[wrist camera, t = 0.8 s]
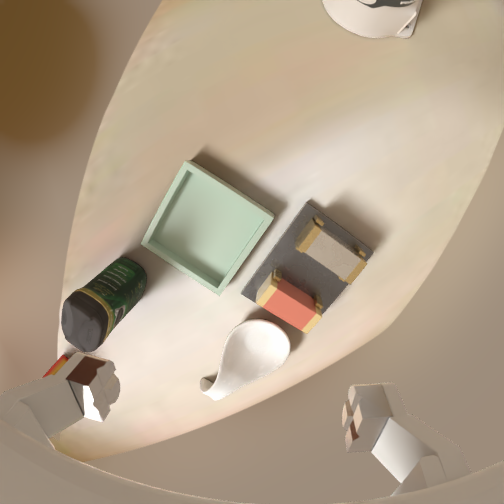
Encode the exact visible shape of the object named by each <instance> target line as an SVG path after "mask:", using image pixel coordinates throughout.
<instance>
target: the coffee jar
mask: <svg viewBox="0 0 504 504" xmlns="http://www.w3.org/2000/svg"><path fill="white" fill-rule="evenodd" d="M146 279H147V278H146V273H145V271H144V270H143V268H142V267H141V266H139V265H138V264H137V263H135V262H134V261H132V260H130V259H127V258H123V257H122V258H118V259H116V260H115V261H114V262H112V263H111V264H110V265H109V266H108V267H107V268H105V269H104V270H103V271H102V272H101V273H100V274H98V275H97V276H96V277H95V278H94V279H92V280H91V281H90V282H89V283H88V284H86V285H85V286H84V287H82V288H80V289H77V290H76V291H74V292H73V293H72V294H71V295H70V296H69V297H68V298H67V299H66V300H65V302H64V304H63V309H62V321H61V325H62V330H63V333H64V335H65V339H66V340H67V341H68V342H70V343H71V344H72V345H74V346H75V347H76V348H78V349H79V350H81V351H83V352H92V351H95V350H96V349H97V348H98V347H99V346H100V345H102V344H103V342H104V341H105V340H106V338H107V337H108V335H109V334H110V333H111V331H112V330H113V329H114V328H115V327H116V325H117V324H118V323H119V322H120V321H121V320H122V319H123V318H124V317H125V316H126V315H127V313H128V312H129V311H130V310H131V309H132V308H133V307H134V306H135V305H136V304H137V303H138V302H139V300H140V298H141V296H142V294H143V291H144V288H145V285H146Z"/></svg>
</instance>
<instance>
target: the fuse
mask: <svg viewBox="0 0 504 504" xmlns="http://www.w3.org/2000/svg"><path fill="white" fill-rule="evenodd" d="M273 276H274V273H273V272H271V273H270V275H269V276H268V277H267V279H266V280H265V281H264V283H263V284H262V285H261V287H260V288H259V290H258V295H257V301H256V304H258V305H259V306H261V307H263V308H264V309H266V310H268V311H269V312H271V313H272V314H274V315H276V316H277V317H279V318H281V319H282V320H284V321H286V322H287V323H289V324H291V325H292V326H294V327H296V328H297V329H299V330H301V331H302V332H304V333H306V334H307V333H308V332H309V331H310V330H311V329H312V328H313V327H314V326H315V325H316V324H317V322H318V321H319V320H320V319H321V318H322V313H321V308H319V307H317V306H316V305H315V299H314V298H312V297H311V296H309V295H307V294H306V293H304V292H303V291H301V290H300V289H298V288H297V287H295V286H293V285H292V284H290V283H289V282H287V281H286V280H284V279H283V278H282V279H281V281H280V282H278V281H277V280H275V279H274V278H273Z"/></svg>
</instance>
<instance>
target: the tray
mask: <svg viewBox="0 0 504 504" xmlns="http://www.w3.org/2000/svg"><path fill="white" fill-rule="evenodd" d="M273 219H274V213H272V212H271V211H269V210H268V209H266V208H265V207H263V206H262V205H260V204H259V203H257V202H256V201H254V200H252V199H251V198H249V197H248V196H246V195H245V194H243V193H242V192H240V191H239V190H237V189H236V188H234V187H233V186H231V185H229V184H228V183H226V182H225V181H223V180H222V179H220V178H218V177H217V176H215V175H214V174H212V173H211V172H209V171H207V170H206V169H204V168H203V167H201V166H199V165H198V164H196V163H195V162H193V161H191V160H188V161H185V162H184V164H183V165H182V167H181V169H180V171H179V172H178V174H177V176H176V178H175V179H174V181H173V183H172V185H171V187H170V188H169V190H168V192H167V194H166V196H165V198H164V199H163V201H162V203H161V205H160V207H159V209H158V211H157V213H156V215H155V216H154V218H153V220H152V222H151V224H150V226H149V228H148V230H147V232H146V234H145V236H144V238H143V240H142V242H141V245H143V246H144V247H146V248H147V249H149V250H150V251H151V252H153V253H154V254H156V255H157V256H159V257H160V258H162V259H163V260H165V261H166V262H168V263H169V264H171V265H172V266H174V267H175V268H177V269H178V270H180V271H181V272H183V273H184V274H186V275H187V276H189V277H191V278H192V279H194V280H195V281H197V282H198V283H200V284H201V285H203V286H205V287H206V288H208V289H209V290H211V291H212V292H214V293H216V294H217V295H219V296H220V295H221V293H222V292H223V290H224V289H225V287H226V286H227V285H228V283H229V282H230V280H231V279H232V277H233V276H234V275H235V273H236V272H237V270H238V269H239V267H240V266H241V265H242V263H243V262H244V260H245V259H246V257H247V256H248V255H249V253H250V252H251V250H252V249H253V247H254V246H255V245H256V243H257V242H258V240H259V239H260V237H261V236H262V235H263V233H264V232H265V230H266V229H267V227H268V226H269V225H270V223H271V222H272V220H273Z"/></svg>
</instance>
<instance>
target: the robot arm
mask: <svg viewBox="0 0 504 504" xmlns="http://www.w3.org/2000/svg"><path fill="white" fill-rule="evenodd" d="M322 1H323V4H324V7H325V9H326V11H327V12H328V14H329V15H330V16H331V17H332V19H333V20H334V21H336V22H337V23H338V24H339V25H340V26H342V27H343V28H345V29H347V30H348V31H350V32H352V33H355V34H357V35H360V36H364V37H369V38H384V37H389V36H395V37H400V38H409V37H410V36H411V35H412V32H413V29H414V26H415V23H416V20H417V17H418V14H419V10H420V7H421V4H422V1H423V0H322ZM405 26H407V27H408V28H406V27H405ZM115 370H116V369H115V366H114V363H113V362H112V361H110V360H107V359H103V358H99V357H96V356H92V355H88V354H84V353H81V352H76V353H75V354H74V355H73V356H72V357H71V358H70V359H69V360H68V361H67V362H66V363H65V364H64V365H63V366H62V368H61V369H60V370H59V371H58V372H57V373H56V374H55V375H49V376H46V377H43V378H41V379H38V380H35V381H32V382H30V383H27V384H24V385H21V386H18V387H16V388H13V389H10V390H7V391H4V392H3V394H2V395H1V396H0V504H253V503H241V502H231V501H224V500H216V499H209V498H204V497H198V496H192V495H187V494H182V493H177V492H173V491H169V490H164V489H160V488H156V487H153V486H149V485H145V484H142V483H138V482H135V481H132V480H129V479H126V478H122V477H120V476H116V475H114V474H111V473H108V472H105V471H103V470H100V469H97V468H95V467H92V466H90V465H87V464H85V463H83V462H80V461H78V460H76V459H73V458H71V457H69V456H67V455H65V454H63V453H60V452H58V451H56V450H55V448H54V446H53V445H52V443H51V442H50V440H49V438H50V437H52V436H54V435H56V434H57V433H59V432H61V431H62V430H64V429H66V428H67V427H69V426H71V425H72V424H74V423H76V422H77V421H79V420H81V419H82V418H84V416H85V417H88V418H91V419H94V420H97V421H101V422H103V421H104V420H105V418H106V417H107V415H108V413H109V412H110V406H109V405H111V404H113V403H115V402H116V400H117V398H118V397H119V392H120V383H119V379H118V378H117V377H116V375H115V374H114V371H115ZM348 396H349V400H347V401H346V402H345V404H344V407H343V414H342V423H343V428H344V429H345V430H346V431H347V434H346V436H345V441H346V447H347V452H348V453H349V452H366V451H372V453H373V454H374V455H375V457H376V458H377V459H378V460H379V461H380V462H381V463H382V464H383V465H384V466H385V467H386V468H387V469H388V470H389V471H390V472H391V473H392V474H393V476H394V477H396V479H397V480H398V481H399V482H400V483H401V484H400V486H399V487H398V488H397V489H396V490H395V491H394V493H393V494H392V495H391V496H389V497H384V498H378V499H371V500H364V501H356V502H347V503H335V504H504V460H503V461H501V462H499V463H497V464H495V465H492V466H490V467H488V468H485V469H483V470H480V471H478V472H475V473H471V471H470V468H469V466H468V464H467V461H466V459H465V457H464V455H463V452H462V450H461V448H460V446H458V445H456V444H455V443H454V442H452V441H451V440H449V439H447V438H446V437H445V436H443V435H442V434H440V433H439V432H437V431H436V430H434V429H433V428H431V427H430V426H428V425H427V424H426V423H424V422H423V421H421V420H420V419H418V418H417V417H415V416H414V415H412V414H411V415H408V413H407V410H406V408H405V405H404V403H403V401H402V398H401V396H400V393H399V391H398V389H397V387H396V384H395V383H394V382H389V383H380V384H359V385H351V386H350V388H349V391H348Z"/></svg>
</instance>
